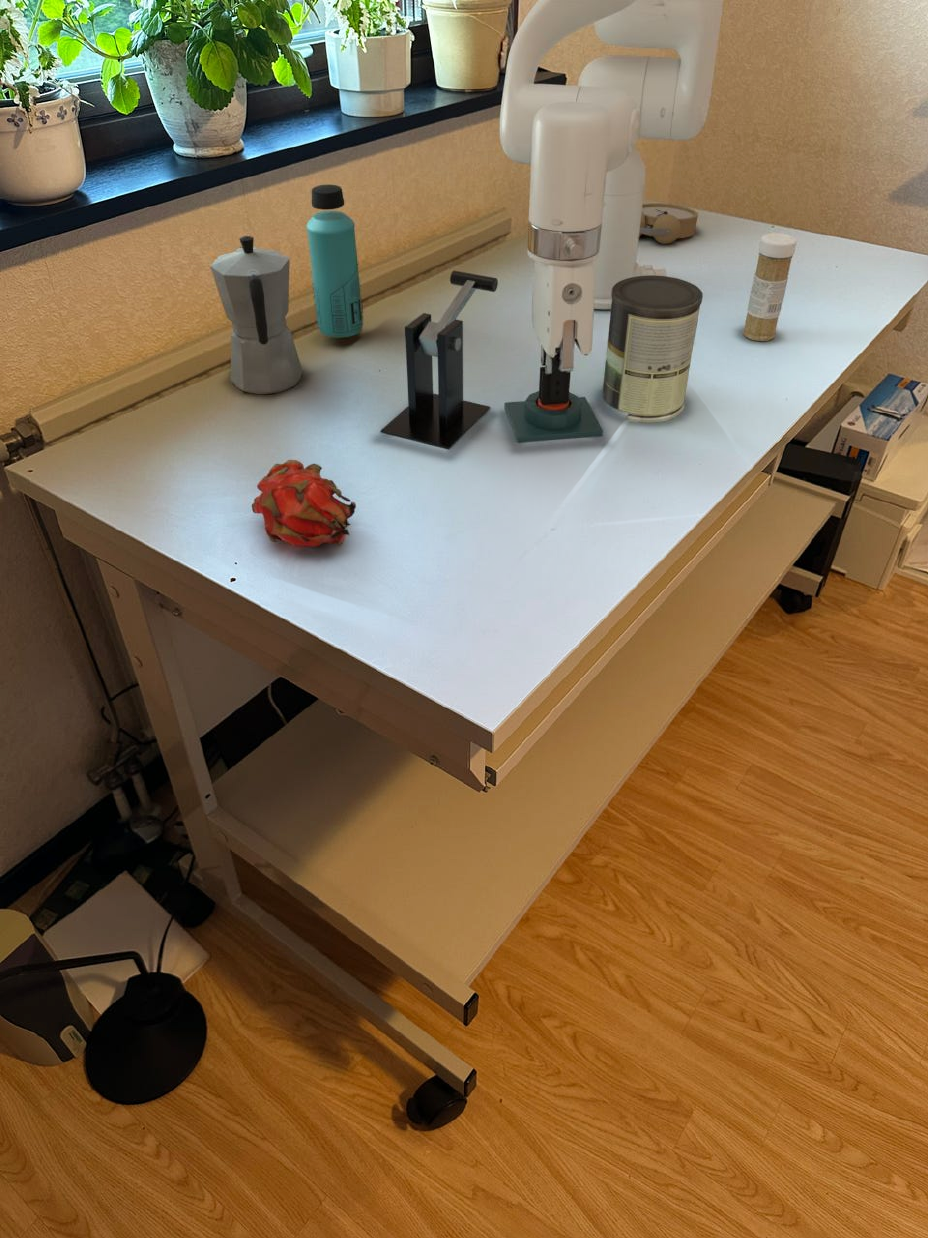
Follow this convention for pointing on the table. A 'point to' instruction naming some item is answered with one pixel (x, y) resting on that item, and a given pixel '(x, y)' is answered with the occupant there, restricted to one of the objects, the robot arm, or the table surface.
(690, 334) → the coffee can
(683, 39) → the robot arm
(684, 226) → the alarm clock
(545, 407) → the button
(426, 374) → the bracket
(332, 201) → the beverage bottle
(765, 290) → the sprinkles bottle
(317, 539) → the dragon fruit
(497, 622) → the table surface
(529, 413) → the button box
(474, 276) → the lever
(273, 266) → the coffeepot
